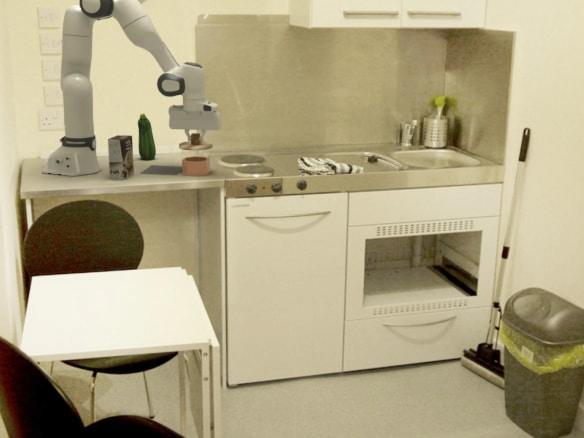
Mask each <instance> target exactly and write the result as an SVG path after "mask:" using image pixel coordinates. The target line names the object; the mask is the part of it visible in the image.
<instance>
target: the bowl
mask: <svg viewBox="0 0 584 438" xmlns="http://www.w3.org/2000/svg"><path fill="white" fill-rule="evenodd" d="M210 160H211V159H210V157H206V156H197V155H196V156H195V155H194V156H187V157H183V159H181V164H182V165H181V166H182V171H181V172H182V174H183V175H186V176H194V177H201V176H207V175H208V174H210V173H211V165H210V164H211V161H210Z"/></svg>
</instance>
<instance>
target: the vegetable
mask: <svg viewBox="0 0 584 438" xmlns="http://www.w3.org/2000/svg"><path fill="white" fill-rule="evenodd" d="M137 127H138V153H139V156H140V158H141V160H144V161H152V160H154V159H156V158H155V157H156V154H157V153H156V152H157V151H156V150H157V149H156V144H155V139H154V133H153V128H152V124H151V121H150V120H149V119H148V117H147V116H146V114H145V113H141V114H139V119H138V120H137Z"/></svg>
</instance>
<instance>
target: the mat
mask: <svg viewBox="0 0 584 438" xmlns="http://www.w3.org/2000/svg"><path fill="white" fill-rule="evenodd" d="M181 172H182V165H181V166H179V165H155V164H154V165H153V164H152V165H150V166H149V167H147V168H145V169H144V170H142V171H141V172H140V173H139V174H141V175H158V176H159V175H161V176H177V175H179V174H180V173H181Z"/></svg>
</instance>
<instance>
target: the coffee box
mask: <svg viewBox="0 0 584 438" xmlns="http://www.w3.org/2000/svg"><path fill="white" fill-rule="evenodd" d="M133 145H134V144H133V135H127V134H125V135H124V134H123V135H118V134H117V135H115V136H112V137H110V138H108V139H107V147H108V149H107V152H108V165H109V179H110V180H115V181H118V180H119V181H126V180H128V179H130V178H132V177H133V176H135V165H134V149H133Z"/></svg>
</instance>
